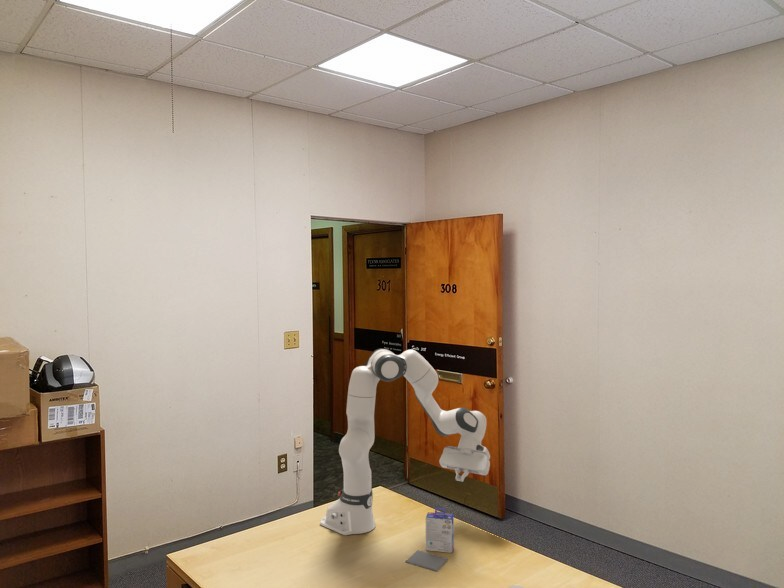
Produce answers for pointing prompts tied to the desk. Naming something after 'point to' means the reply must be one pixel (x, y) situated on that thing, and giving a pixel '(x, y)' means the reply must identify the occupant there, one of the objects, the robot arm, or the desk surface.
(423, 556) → the mat
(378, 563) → the desk surface
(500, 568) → the desk surface
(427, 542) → the ink cartridge box
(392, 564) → the desk surface
